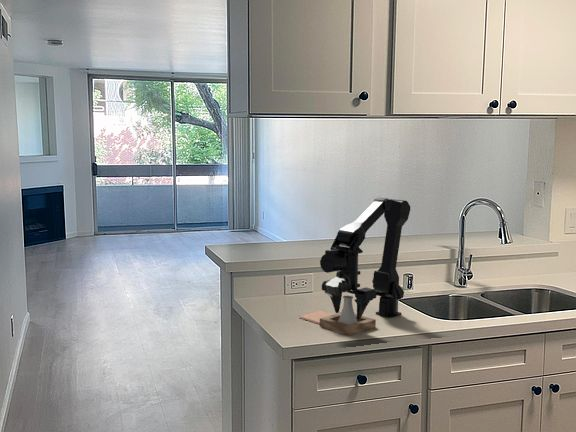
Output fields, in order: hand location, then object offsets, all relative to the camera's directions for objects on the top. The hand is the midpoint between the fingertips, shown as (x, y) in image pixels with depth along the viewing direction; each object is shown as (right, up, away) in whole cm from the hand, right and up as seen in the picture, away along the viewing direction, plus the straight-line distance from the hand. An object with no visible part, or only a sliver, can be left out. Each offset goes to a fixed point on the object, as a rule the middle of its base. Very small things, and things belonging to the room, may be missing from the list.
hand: (347, 316), depth 196 cm
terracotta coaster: (-8, -2, +9) cm, 12 cm away
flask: (0, -4, 0) cm, 4 cm away
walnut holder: (0, -4, 0) cm, 4 cm away
